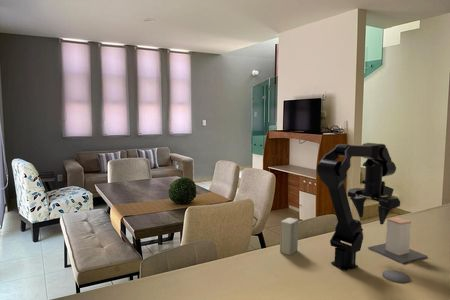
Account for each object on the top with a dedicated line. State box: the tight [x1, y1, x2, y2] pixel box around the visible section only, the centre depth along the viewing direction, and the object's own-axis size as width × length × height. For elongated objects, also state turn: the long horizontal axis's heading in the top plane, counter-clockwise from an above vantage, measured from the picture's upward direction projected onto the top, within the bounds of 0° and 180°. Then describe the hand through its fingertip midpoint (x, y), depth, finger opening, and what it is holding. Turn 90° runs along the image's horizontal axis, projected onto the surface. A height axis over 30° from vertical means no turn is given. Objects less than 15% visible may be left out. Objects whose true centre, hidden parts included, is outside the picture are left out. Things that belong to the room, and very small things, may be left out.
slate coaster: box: [381, 269, 411, 284], centre depth 111 cm, size 8×8×1 cm
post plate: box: [367, 242, 428, 265], centre depth 130 cm, size 13×15×5 cm
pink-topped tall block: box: [385, 216, 412, 255], centre depth 130 cm, size 6×6×12 cm
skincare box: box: [279, 217, 299, 256], centre depth 130 cm, size 6×4×12 cm
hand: (371, 220), depth 127 cm, fingers open, 9 cm apart
